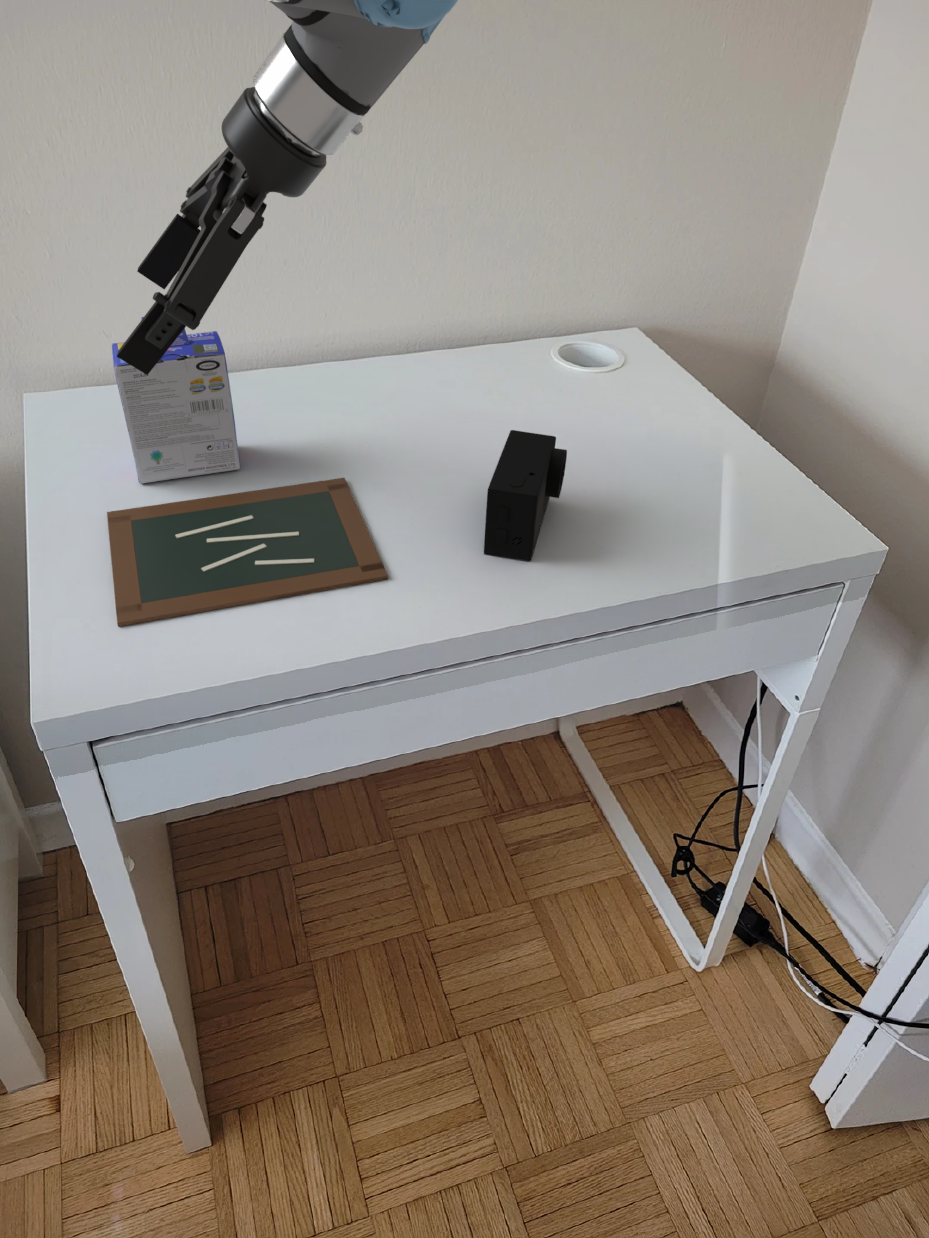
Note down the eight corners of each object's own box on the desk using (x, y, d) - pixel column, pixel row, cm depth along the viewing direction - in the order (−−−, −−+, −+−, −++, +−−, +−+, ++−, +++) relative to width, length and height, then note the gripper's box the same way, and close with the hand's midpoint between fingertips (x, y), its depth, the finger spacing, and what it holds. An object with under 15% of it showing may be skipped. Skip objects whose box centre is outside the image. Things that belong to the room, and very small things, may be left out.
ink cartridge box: (235, 443, 97) (216, 304, 87) (244, 471, 93) (224, 329, 83) (134, 456, 94) (103, 315, 85) (139, 486, 90) (107, 341, 81)
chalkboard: (118, 626, 75) (116, 622, 75) (107, 515, 86) (106, 511, 86) (388, 579, 81) (387, 574, 80) (344, 480, 92) (344, 476, 92)
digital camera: (544, 565, 83) (551, 498, 78) (483, 555, 84) (487, 488, 79) (561, 501, 91) (569, 437, 86) (505, 492, 92) (510, 428, 87)
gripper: (333, 232, 65) (167, 430, 75) (328, 95, 81) (193, 272, 92) (240, 158, 60) (77, 378, 71) (255, 29, 77) (121, 223, 87)
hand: (142, 319), depth 81 cm, fingers open, 13 cm apart
